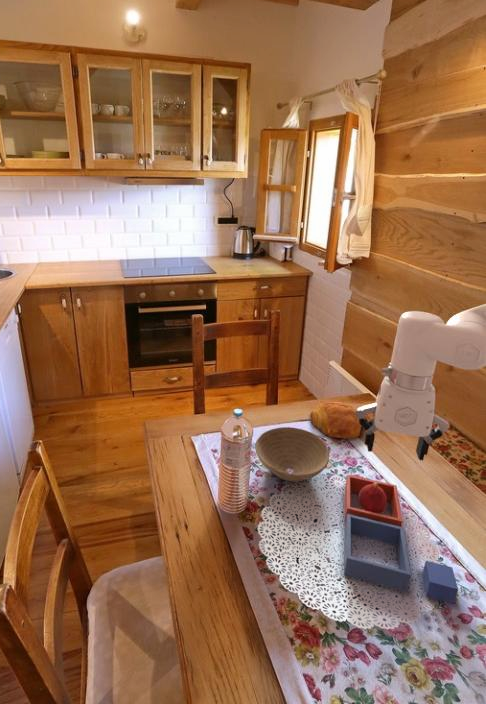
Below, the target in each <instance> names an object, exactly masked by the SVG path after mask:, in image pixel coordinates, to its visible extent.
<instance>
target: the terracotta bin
mask: <svg viewBox="0 0 486 704" xmlns="http://www.w3.org/2000/svg"><path fill="white" fill-rule="evenodd" d="M375 482H376V483H378V486H379V487H380V488H381V489H382V490H383V491H384V493H385V495H386V498H387V501H389V502H390V509H391V515H392V516H390V515H387V514H382V513H379V514H378V513H374V512H369V511H365V510H364V509H361V508H356V507H353V506H351V493H354V494H358V495H359V493H360V491H361V489H362V488H363V487H365V486H367V485H370V484H373V483H375ZM399 497H400V496H399V491H398V485H396V484H392V483H388V482H383V481H380V480H374V479H369V478H365V477H360V476H356V475H351V474H346V479H345V484H344V510H343V511H344V513H343V515H344V517H343V518H344V521H343V523H344V524H345V523H346V517H347V514H350V515H354V516H358V517H362V518H366V519H370V520H374V521H379V522H383V523H387V524H391V525H395V526H399V527H402V525H403V516H402V509H401V504H400V498H399Z"/></svg>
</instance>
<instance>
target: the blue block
mask: <svg viewBox="0 0 486 704" xmlns="http://www.w3.org/2000/svg"><path fill="white" fill-rule="evenodd" d="M421 577H422V583H423V588H424V593H425V597H427V598H431V599H434V600H438V601H441V602H445V603H449V604H455V601H456V598H457V594H458V591H459V588H458V584H457V580H456V576H455V573H454V568H453V567H452V566H449V565H446V564H441V563H437V562H434V561H429V560H425V562H424V566H423V568H422V572H421Z"/></svg>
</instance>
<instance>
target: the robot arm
mask: <svg viewBox="0 0 486 704" xmlns="http://www.w3.org/2000/svg"><path fill="white" fill-rule="evenodd" d="M438 362H441V363H443V364H446V365H448V366H451V367H454V368H457V369H461V370H463V371H464V370H465V371H475V370H476V371H477V370H481V369H483V368H485V367H486V303H484V304H481V305H478V306H475V307H472V308H469V309H466V310H463V311H461V312H458V313H457V314H455V315H453V316H452V317H450V318H449V320H448V321H447V322H446V323H445V322H444V319H442V318H441V317H440V316H439V315H436V314H434V313H430V312H426V311H420V310H412V311H406V312H404V313H403V314H401V315H400V317H399V319H398V323H397V329H396V334H395V339H394V343H393V350H392V353H391V359H390V362H389V363H388V364H389V365H388V366H385V367H384V366H382V367H381V368H380V374H381V375H384V377H383V379H382V382H381V384H380V387H379V390H378V392H377V395H376V398H375V402H374V403H370V404H366V405H363V406H358V407H356V408H354V409H355V412H356V416H357V418H358V420H359V423H360V425H361V426H362V427H361V428H363V430H365V435H364V440H363V443H364V446H366V448H367V452H368V453H369V452H370V453H371V452H373V448H374V443H375V439H376V435H375V432H377V431H381V432H386V433H391V434H398V435H404V436H411V437H418V440H417V444H416V448H415V452H416V456H417V458H418V460H419V461H422V462H423V461H424V459H425V456H427V455H428V452H429V448H430V445H431V444H434V441H436V440H437V439H439V438H441V437H442V436H443V434H445V433H446V432H447V431H448V430H449V429H450V428H451V424H450V423H449V421H447V420H446V419H444V418H443V417H441V416H440V415H438V414H436V413H435V407H436V388H435V386H434V385H433V379H434V375H435V370H436V366H437V363H438ZM369 414H372V417H371V418H370V419H369V420H368V419H367V418H366V416H365V415H369ZM433 423H435V424H436V426H435V427H433Z"/></svg>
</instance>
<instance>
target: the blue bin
mask: <svg viewBox="0 0 486 704" xmlns="http://www.w3.org/2000/svg"><path fill="white" fill-rule="evenodd" d="M404 528H405V527H402V526H401V527H399V526H395V525H391V524H387V523H383V522H379V521H374V520H370V519H366V518H362V517H358V516H354V515H350V514H347V517H346V523H344V530H343V575H345V576H348V577H352V578H356V579H359V580H362V581H366V582H370V583H373V584H377V585H381V586H384V587H387V588H390V589H395V590H398V591H402V592H406V593H407V592H408V589H409V584H410V582H411V581H410V580H411V576H412V573H411V565H410V559H409V555H408V553H409V552H408V548H407V541H406V536H405V529H404ZM352 534H353V535H357V536H361V537H363V538H369V539H372V540H376V541H381V542H383V543H389V544H392V545H395V546H396V552H397V553H396V554H397V560H398V566H399V568H397V567H393V566H389V565H385V564H382V563H377V562H375V561H370V560H367V559H364V558H360V557H357V556H352Z"/></svg>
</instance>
